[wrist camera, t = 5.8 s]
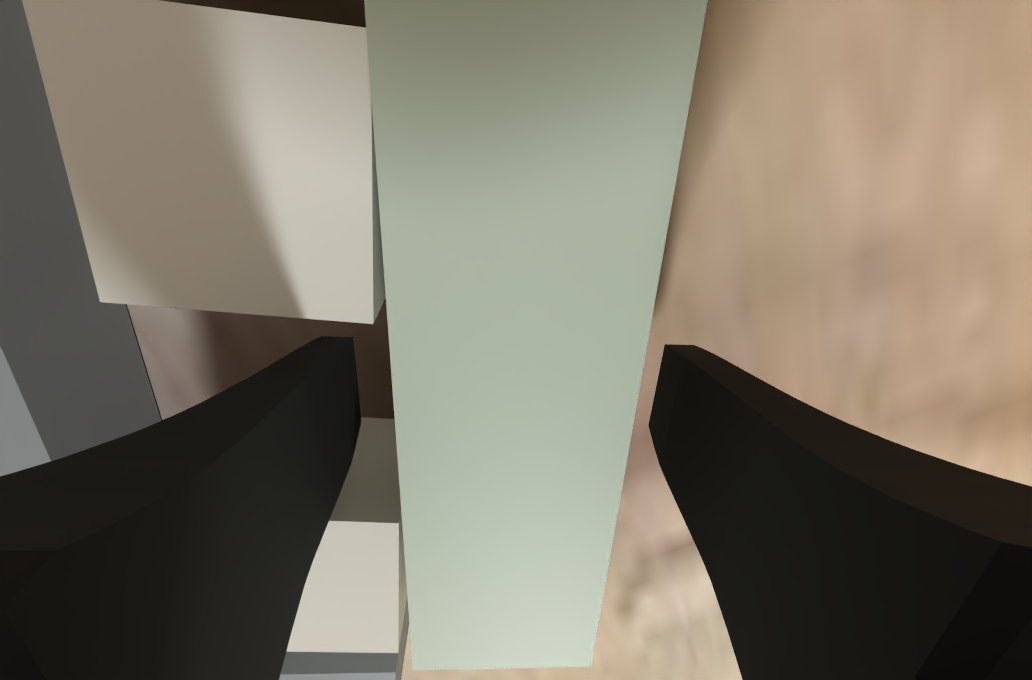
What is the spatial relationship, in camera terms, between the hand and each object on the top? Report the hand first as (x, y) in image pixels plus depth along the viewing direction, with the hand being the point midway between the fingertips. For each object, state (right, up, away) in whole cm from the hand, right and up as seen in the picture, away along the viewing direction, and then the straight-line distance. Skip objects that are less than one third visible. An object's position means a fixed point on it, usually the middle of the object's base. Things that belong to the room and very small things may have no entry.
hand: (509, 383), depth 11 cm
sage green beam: (0, +2, +1) cm, 2 cm away
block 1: (-4, +5, -1) cm, 6 cm away
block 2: (-5, -3, +3) cm, 6 cm away
